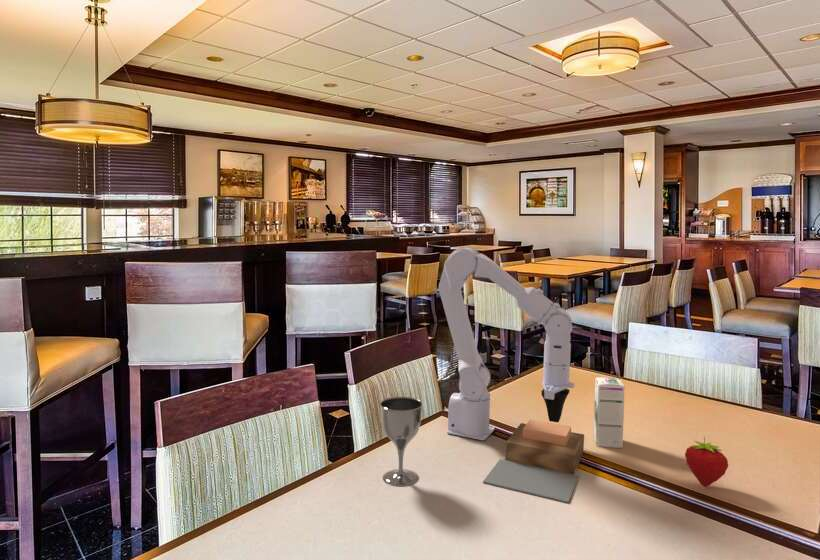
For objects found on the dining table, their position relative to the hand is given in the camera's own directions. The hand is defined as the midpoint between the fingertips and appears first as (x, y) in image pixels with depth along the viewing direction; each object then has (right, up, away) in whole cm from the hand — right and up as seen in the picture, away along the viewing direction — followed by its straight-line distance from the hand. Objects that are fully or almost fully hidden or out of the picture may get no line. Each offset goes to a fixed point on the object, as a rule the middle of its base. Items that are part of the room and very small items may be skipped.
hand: (554, 420), depth 121 cm
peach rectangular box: (-3, -2, -7) cm, 8 cm away
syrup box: (+12, -5, 0) cm, 13 cm away
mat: (-9, -7, -18) cm, 21 cm away
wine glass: (-35, -7, -17) cm, 39 cm away
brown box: (-4, -6, -7) cm, 10 cm away
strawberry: (+23, -8, -20) cm, 31 cm away
